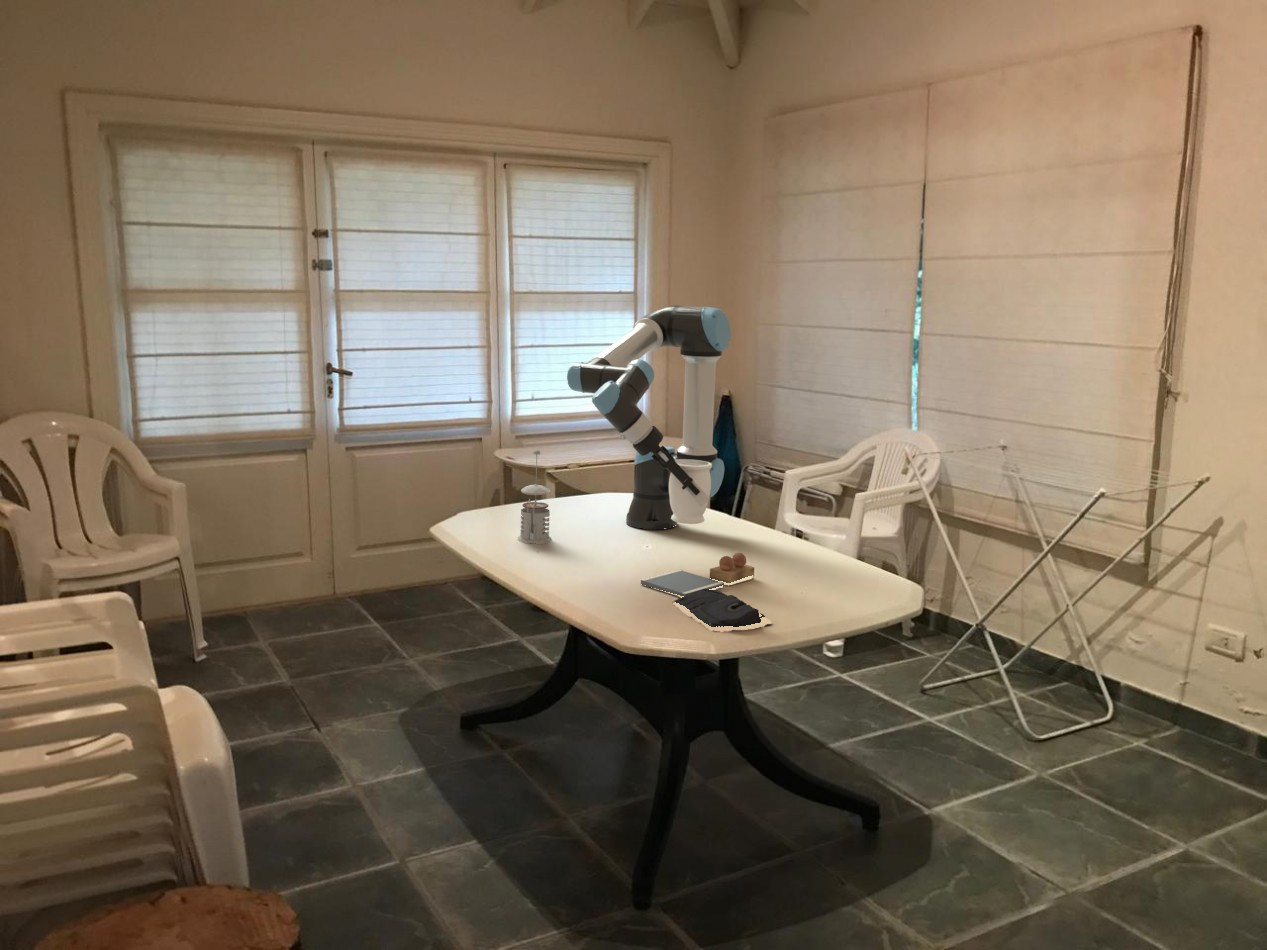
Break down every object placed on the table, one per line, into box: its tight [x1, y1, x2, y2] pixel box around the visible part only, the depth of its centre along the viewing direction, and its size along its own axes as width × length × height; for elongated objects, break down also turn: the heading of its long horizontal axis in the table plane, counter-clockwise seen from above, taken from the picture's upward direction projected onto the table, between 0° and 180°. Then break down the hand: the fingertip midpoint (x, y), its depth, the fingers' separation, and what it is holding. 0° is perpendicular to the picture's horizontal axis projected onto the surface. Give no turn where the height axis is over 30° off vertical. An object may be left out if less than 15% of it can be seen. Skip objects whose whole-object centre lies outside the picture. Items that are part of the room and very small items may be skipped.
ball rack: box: [709, 552, 755, 583], centre depth 250 cm, size 10×6×6 cm, turn 136°
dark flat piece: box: [673, 589, 765, 627], centre depth 224 cm, size 15×22×5 cm
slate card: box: [640, 569, 725, 597], centre depth 243 cm, size 14×14×1 cm
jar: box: [669, 459, 712, 525], centre depth 256 cm, size 11×10×15 cm
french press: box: [517, 449, 553, 545], centre depth 277 cm, size 10×12×25 cm
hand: (700, 497), depth 257 cm, fingers closed on jar, 10 cm apart
